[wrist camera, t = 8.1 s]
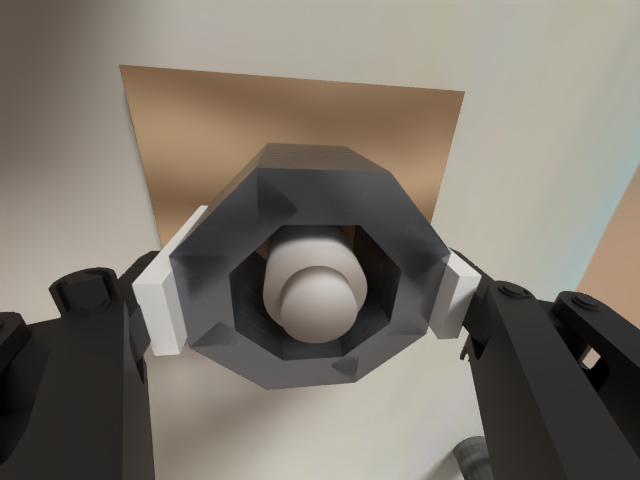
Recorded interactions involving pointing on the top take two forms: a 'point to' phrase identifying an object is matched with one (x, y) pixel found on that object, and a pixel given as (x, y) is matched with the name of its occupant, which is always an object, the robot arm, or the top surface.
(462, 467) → the beverage cup
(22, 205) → the top surface
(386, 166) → the post block
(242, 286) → the ring
